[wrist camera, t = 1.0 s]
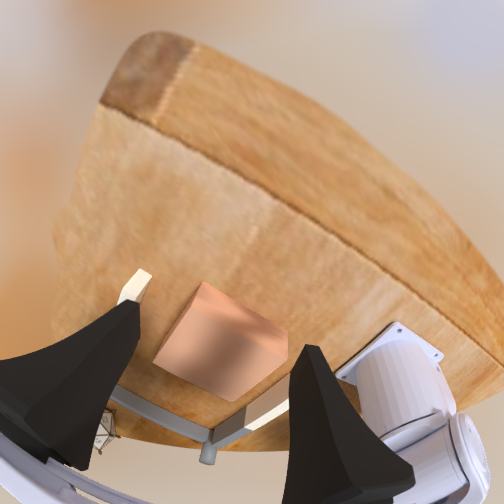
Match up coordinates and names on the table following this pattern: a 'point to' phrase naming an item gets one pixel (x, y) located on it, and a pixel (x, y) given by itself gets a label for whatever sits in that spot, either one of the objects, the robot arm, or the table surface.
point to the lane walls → (257, 410)
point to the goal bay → (186, 424)
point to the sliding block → (222, 345)
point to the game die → (105, 431)
